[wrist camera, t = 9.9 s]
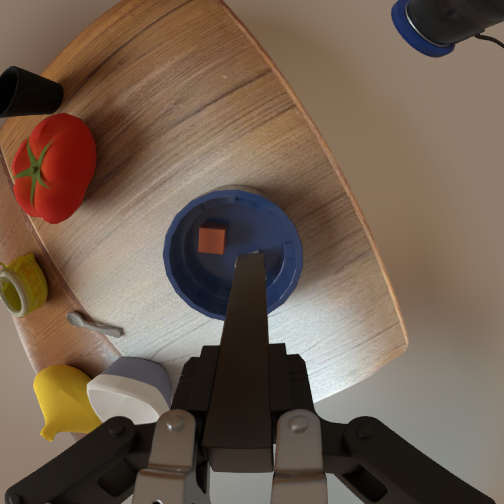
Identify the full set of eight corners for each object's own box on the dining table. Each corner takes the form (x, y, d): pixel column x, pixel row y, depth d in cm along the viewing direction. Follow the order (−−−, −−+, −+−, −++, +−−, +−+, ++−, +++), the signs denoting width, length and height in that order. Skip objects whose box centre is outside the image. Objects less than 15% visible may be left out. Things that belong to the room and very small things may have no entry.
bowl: (121, 394, 49) (104, 430, 39) (102, 342, 44) (76, 379, 34) (186, 406, 49) (175, 448, 39) (175, 354, 44) (158, 400, 34)
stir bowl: (293, 181, 34) (300, 185, 29) (296, 296, 40) (302, 317, 34) (169, 191, 35) (153, 198, 29) (187, 301, 40) (176, 322, 35)
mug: (48, 312, 43) (15, 343, 32) (16, 283, 41) (-18, 307, 30) (57, 265, 39) (15, 293, 28) (22, 234, 38) (-20, 255, 26)
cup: (74, 96, 30) (23, 85, 19) (46, 129, 31) (-4, 129, 20) (59, 69, 28) (13, 56, 17) (33, 101, 29) (-13, 97, 18)
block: (228, 223, 36) (225, 229, 33) (226, 246, 37) (223, 254, 34) (204, 221, 36) (199, 227, 33) (203, 244, 37) (198, 252, 34)
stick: (264, 252, 21) (272, 447, 6) (265, 276, 22) (274, 472, 6) (237, 253, 21) (200, 446, 6) (240, 277, 22) (212, 472, 7)
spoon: (68, 307, 42) (63, 312, 40) (122, 323, 43) (118, 330, 41) (70, 319, 43) (65, 325, 41) (122, 336, 44) (119, 342, 42)
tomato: (125, 139, 33) (86, 137, 23) (82, 231, 37) (43, 252, 28) (67, 102, 30) (27, 96, 21) (32, 188, 35) (-7, 199, 25)
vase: (40, 348, 47) (-1, 396, 29) (93, 356, 46) (49, 420, 28) (72, 400, 53) (43, 448, 35) (124, 411, 52) (99, 471, 34)
